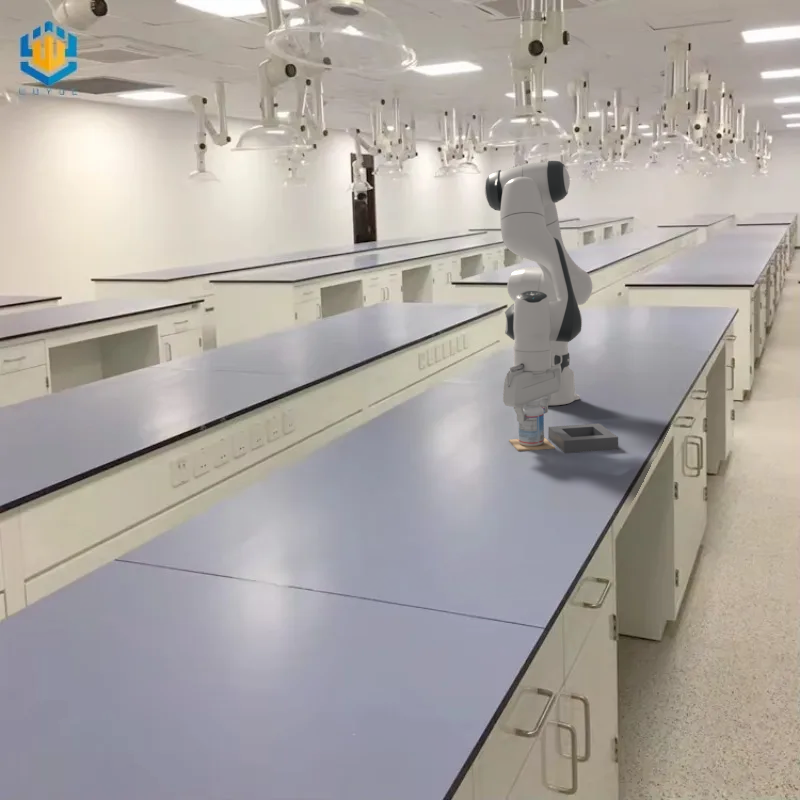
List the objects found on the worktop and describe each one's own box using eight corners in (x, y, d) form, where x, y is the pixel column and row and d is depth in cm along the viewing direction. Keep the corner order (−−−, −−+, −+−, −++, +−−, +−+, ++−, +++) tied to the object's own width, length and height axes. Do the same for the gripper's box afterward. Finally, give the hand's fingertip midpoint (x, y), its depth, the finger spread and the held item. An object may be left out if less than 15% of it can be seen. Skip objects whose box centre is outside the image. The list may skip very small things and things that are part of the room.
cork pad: (509, 441, 212) (509, 439, 212) (544, 438, 213) (544, 437, 213) (518, 451, 203) (518, 449, 203) (555, 448, 204) (555, 447, 204)
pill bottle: (532, 438, 212) (532, 394, 209) (549, 444, 207) (549, 398, 204) (513, 442, 209) (513, 397, 206) (529, 448, 204) (529, 402, 201)
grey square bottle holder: (548, 438, 213) (548, 426, 212) (599, 435, 214) (599, 423, 214) (564, 453, 200) (564, 440, 200) (617, 449, 202) (618, 437, 201)
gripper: (518, 369, 194) (519, 428, 197) (566, 355, 209) (565, 410, 212) (496, 367, 198) (496, 424, 201) (543, 352, 213) (544, 406, 216)
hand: (532, 417), depth 207 cm, fingers open, 8 cm apart
